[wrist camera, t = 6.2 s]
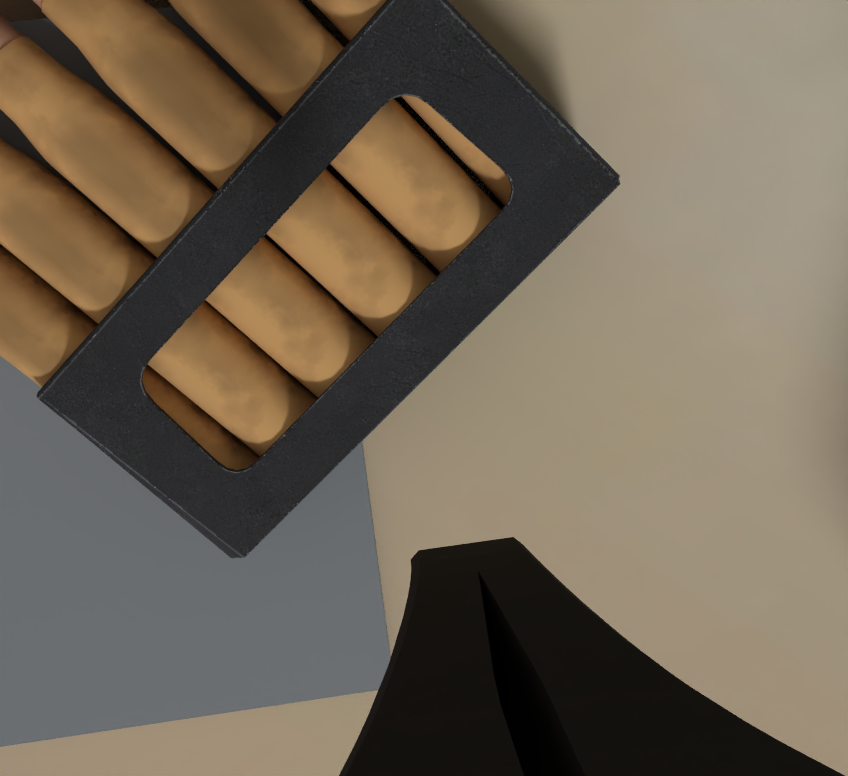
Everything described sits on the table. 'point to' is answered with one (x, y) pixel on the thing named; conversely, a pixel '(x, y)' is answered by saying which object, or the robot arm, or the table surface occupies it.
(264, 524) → the ammunition clip
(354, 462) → the rubber mat
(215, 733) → the table surface
